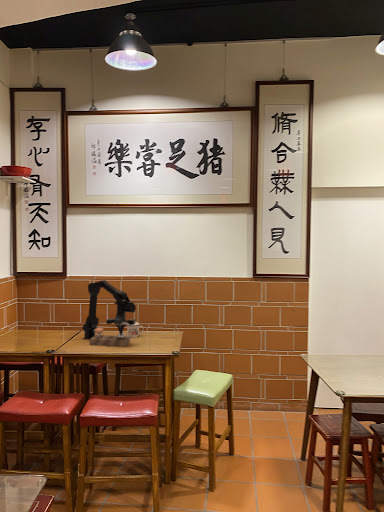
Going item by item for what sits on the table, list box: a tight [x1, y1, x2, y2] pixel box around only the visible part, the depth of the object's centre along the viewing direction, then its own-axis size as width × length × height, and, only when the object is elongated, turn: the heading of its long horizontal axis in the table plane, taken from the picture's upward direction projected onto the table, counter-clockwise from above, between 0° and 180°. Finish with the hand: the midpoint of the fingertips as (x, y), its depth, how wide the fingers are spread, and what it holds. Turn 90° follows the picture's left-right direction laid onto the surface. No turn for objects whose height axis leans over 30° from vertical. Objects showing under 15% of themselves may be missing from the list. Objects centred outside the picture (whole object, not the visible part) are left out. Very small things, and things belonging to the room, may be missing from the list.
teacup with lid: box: [126, 321, 144, 338], centre depth 288 cm, size 12×9×12 cm
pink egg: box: [95, 327, 104, 338], centre depth 266 cm, size 5×5×6 cm
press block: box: [89, 334, 131, 348], centre depth 266 cm, size 24×12×4 cm, turn 83°
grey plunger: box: [116, 333, 126, 339], centre depth 265 cm, size 5×5×6 cm
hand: (120, 334), depth 265 cm, fingers closed, pressing on grey plunger
